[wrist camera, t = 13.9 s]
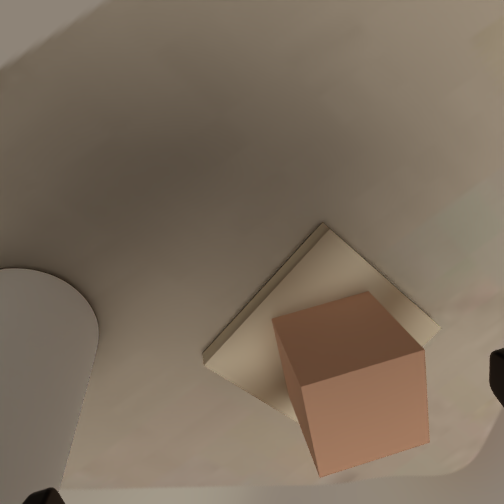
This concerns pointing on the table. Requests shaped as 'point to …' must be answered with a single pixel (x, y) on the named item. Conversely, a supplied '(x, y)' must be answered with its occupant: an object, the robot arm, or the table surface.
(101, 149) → the table surface
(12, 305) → the can
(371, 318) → the cube
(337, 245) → the coaster
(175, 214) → the table surface
